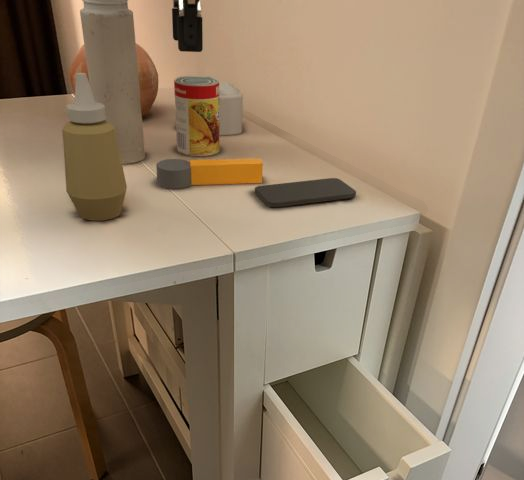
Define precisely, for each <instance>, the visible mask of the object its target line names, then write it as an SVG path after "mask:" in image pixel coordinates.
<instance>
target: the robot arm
mask: <svg viewBox="0 0 524 480" xmlns="http://www.w3.org/2000/svg"><path fill="white" fill-rule="evenodd" d="M201 3H202V2H201V0H172V7H171V21H172V23H171V24H172V39H173V40H174V41H177V48H178V51H179V52H184V53H185V52H187V53H201V52H203V49H204V48H203V47H204V46H203V44H204V43H203V42H204V41H203V35H204V34H203V17H202V4H201Z"/></svg>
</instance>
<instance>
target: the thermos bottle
mask: <svg viewBox="0 0 524 480" xmlns="http://www.w3.org/2000/svg"><path fill="white" fill-rule="evenodd" d="M81 1H82V2H83V8H81V9H80V10H79V16H80V23H81V30H82V39H83V45H84V46H85V54H86V61H87V69H88V76H89V83H90V87H91V90H92V93H93V96H94V99H95V102H98V103H102V104H103V105H104V106H105V114H106V119H105V120H106V121H108V122H110V123H111V124H112V125H113V126H114V128H115V133H116V138H117V142H118V147H119V152H120V157H121V161H122V165H125V164H127V165H128V164H134V163H137V162H138V163H139V162H141V161H143V160H144V159H145V157H146V149H145V148H146V147H145V137H144V125H143V119H142V115H141V104H140V89H139V77H138V66H137V54H136V43H137V42H136V31H135V20H134V12H133V10H131V9H130V8H129V5H128V3H129V2H128V1H129V0H81Z"/></svg>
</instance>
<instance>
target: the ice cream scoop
mask: <svg viewBox="0 0 524 480" xmlns="http://www.w3.org/2000/svg"><path fill="white" fill-rule="evenodd" d="M155 169H156V181H157V185H158V186H159V187H161V188H164V189H169V190H180V189H186V188H189V187H191V186H205V185H206V186H207V185H208V186H209V185H211V186H212V185H236V184H237V185H238V184H262V183H263V171H264V163H263V161H262V160H261V158H224V159H223V158H222V159H221V158H220V159H218V158H217V159H189V160H186V159H181V158H166V159H163V160H159V161H158V162H157V163H156V166H155Z"/></svg>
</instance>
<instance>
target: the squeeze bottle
mask: <svg viewBox="0 0 524 480" xmlns="http://www.w3.org/2000/svg"><path fill="white" fill-rule="evenodd" d="M66 113H67V119H68V120H69V121H67V122H66V123H64V125H63V126H62V147H63V158H64V161H63V163H64V175H65V177H64V178H65V191H66V193H67V195H68V197H69V199H70V201H71V202H72V204H73V206H74V209H75V210H76V212H77V214H78V215H79V216H80V217H81V218H82V219H85V220H87V221H88V220H89V221H107V220H112V219H114V218H116V217H119V216H120V215H121V214H122V211H123V206H124V201H125V197H126V193H127V187H128V185H127V181H126V177H125V176H126V175H125V171H124V167H123V164H122V161H121V157H120V152H119V147H118V142H117V138H116V133H115V128H114V126H113V125H112V124H111V123H110V122H108V121H106V120H105V119H106V114H105V106H104V105H103V104H102V103H98V102H95V99H94V96H93V93H92V90H91V87H90V84H89V81H88V78H87V75H86V73H77V74H76V86H75V94H74V102H71V103H69V104H67V105H66Z"/></svg>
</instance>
